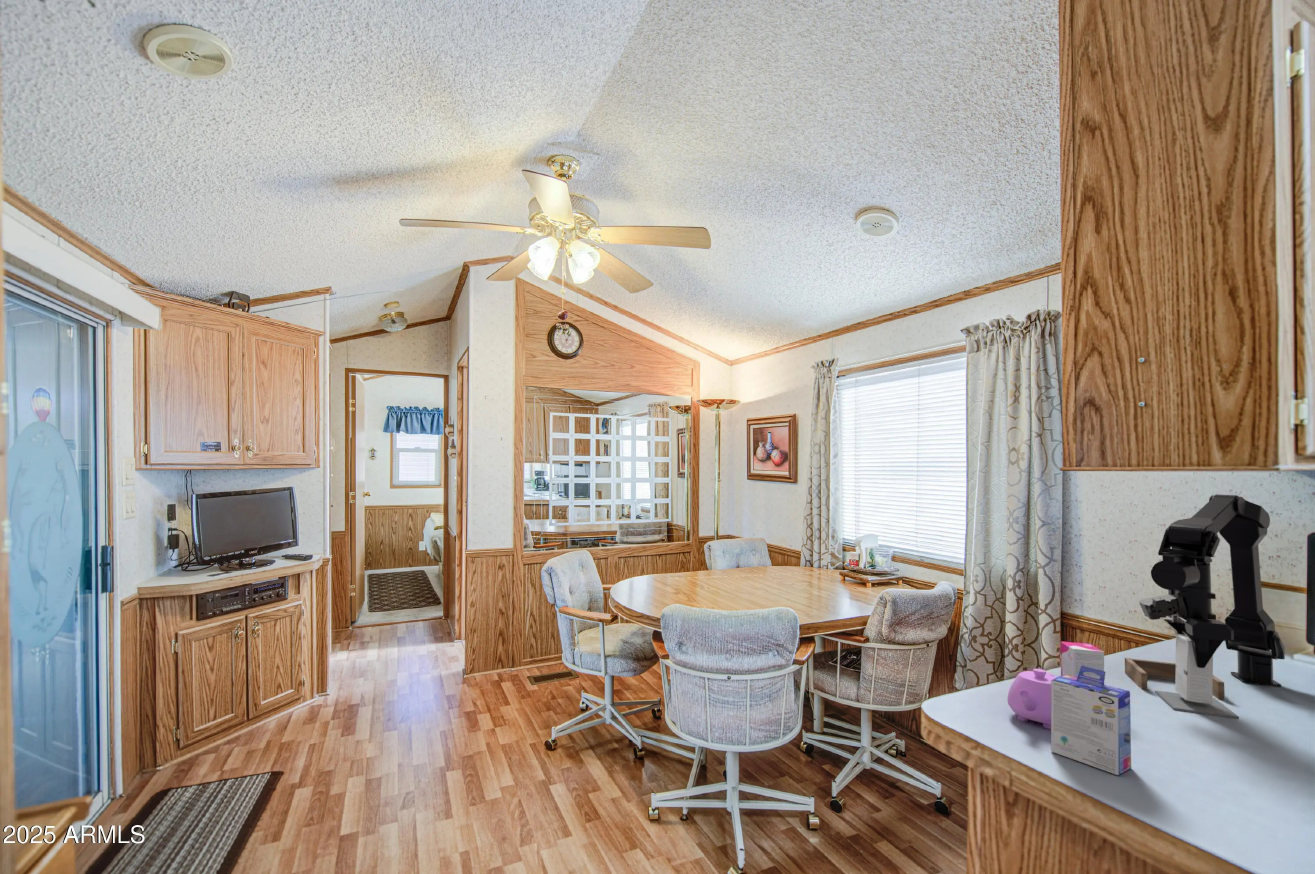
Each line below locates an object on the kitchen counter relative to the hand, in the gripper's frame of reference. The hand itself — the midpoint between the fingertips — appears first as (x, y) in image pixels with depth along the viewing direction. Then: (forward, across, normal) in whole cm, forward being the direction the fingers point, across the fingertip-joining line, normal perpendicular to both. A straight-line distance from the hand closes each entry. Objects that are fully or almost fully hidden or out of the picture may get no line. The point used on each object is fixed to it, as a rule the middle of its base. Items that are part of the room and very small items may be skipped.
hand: (1193, 662), depth 123 cm
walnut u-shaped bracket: (+8, -11, 0) cm, 14 cm away
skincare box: (+7, 0, 0) cm, 7 cm away
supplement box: (+8, +9, -21) cm, 24 cm away
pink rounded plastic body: (+8, +23, -31) cm, 39 cm away
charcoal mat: (+8, 0, 0) cm, 8 cm away
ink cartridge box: (+8, +37, -26) cm, 46 cm away
